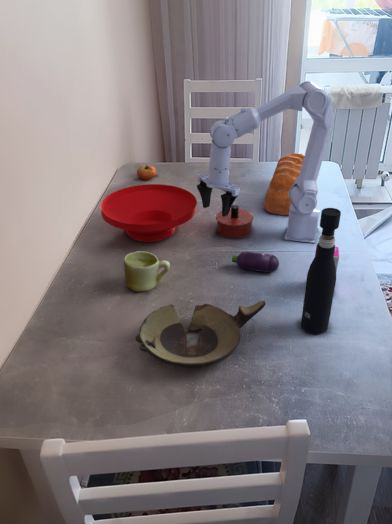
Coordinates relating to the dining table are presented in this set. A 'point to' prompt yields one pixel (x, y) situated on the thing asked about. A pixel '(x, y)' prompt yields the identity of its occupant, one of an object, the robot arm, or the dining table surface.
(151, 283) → the mug
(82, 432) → the dining table surface
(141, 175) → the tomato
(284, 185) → the bread
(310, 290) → the black bottle
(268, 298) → the dining table surface
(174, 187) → the bowl
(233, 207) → the pot lid
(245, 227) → the pot
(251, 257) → the eggplant
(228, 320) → the olive round shallow dish
